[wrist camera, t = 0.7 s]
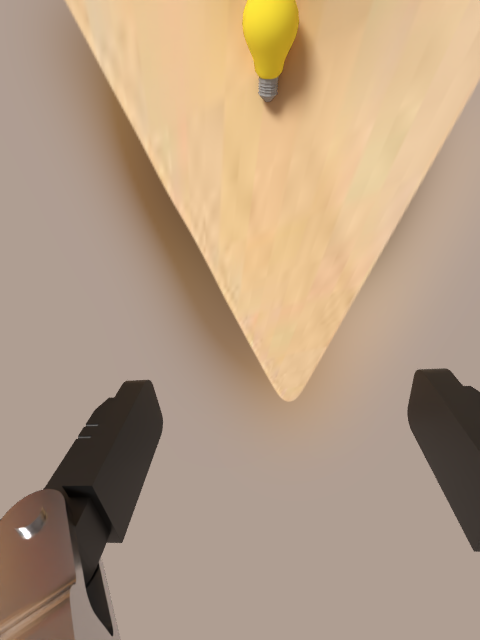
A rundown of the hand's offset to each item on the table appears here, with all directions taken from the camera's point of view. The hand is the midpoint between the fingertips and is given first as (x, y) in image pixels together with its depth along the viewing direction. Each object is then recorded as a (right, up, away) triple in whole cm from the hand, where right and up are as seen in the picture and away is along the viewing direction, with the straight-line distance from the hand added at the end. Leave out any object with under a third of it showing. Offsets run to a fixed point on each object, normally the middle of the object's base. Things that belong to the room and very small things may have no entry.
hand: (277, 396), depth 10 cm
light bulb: (+1, +21, +12) cm, 25 cm away
